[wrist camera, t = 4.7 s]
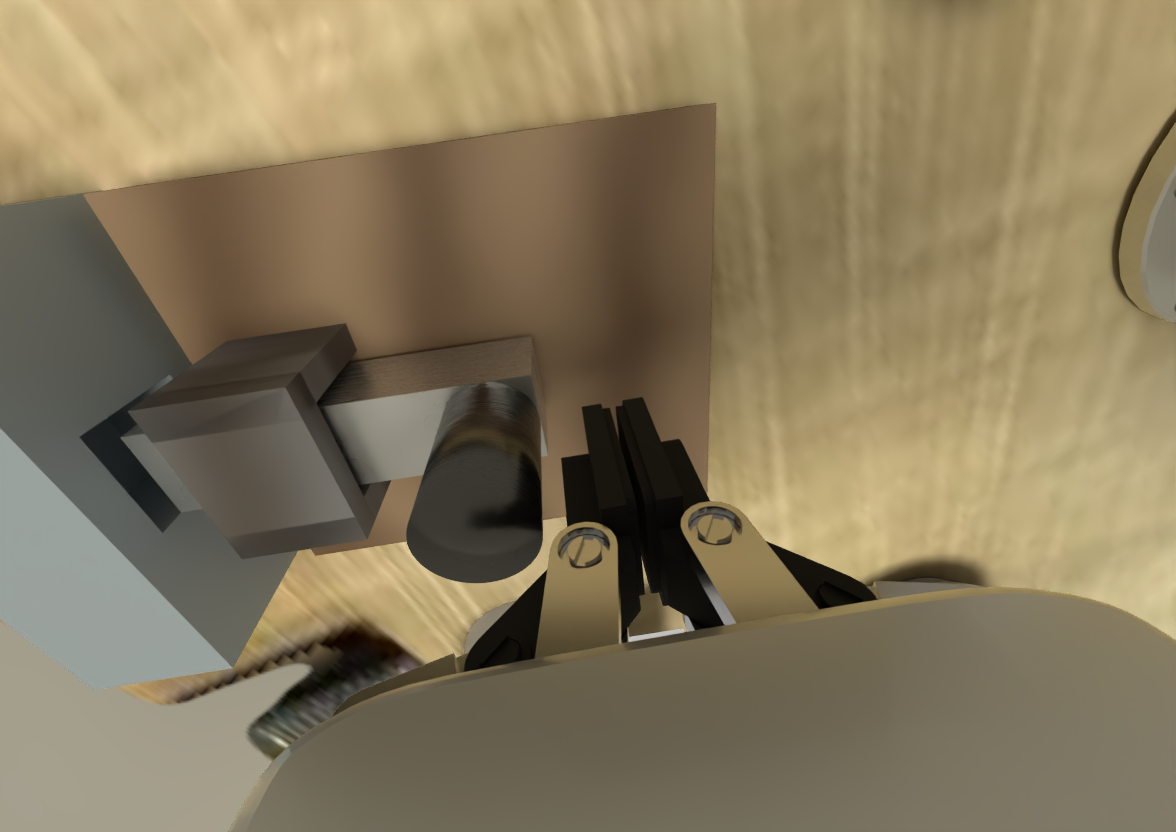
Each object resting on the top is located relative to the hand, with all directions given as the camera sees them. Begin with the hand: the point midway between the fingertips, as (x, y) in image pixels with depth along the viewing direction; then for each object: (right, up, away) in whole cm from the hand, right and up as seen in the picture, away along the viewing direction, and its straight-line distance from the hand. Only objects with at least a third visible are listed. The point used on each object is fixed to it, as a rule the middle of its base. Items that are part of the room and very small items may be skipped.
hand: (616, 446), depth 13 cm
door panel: (-5, +3, +6) cm, 9 cm away
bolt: (-9, +1, +4) cm, 10 cm away
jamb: (-18, +1, +6) cm, 19 cm away
